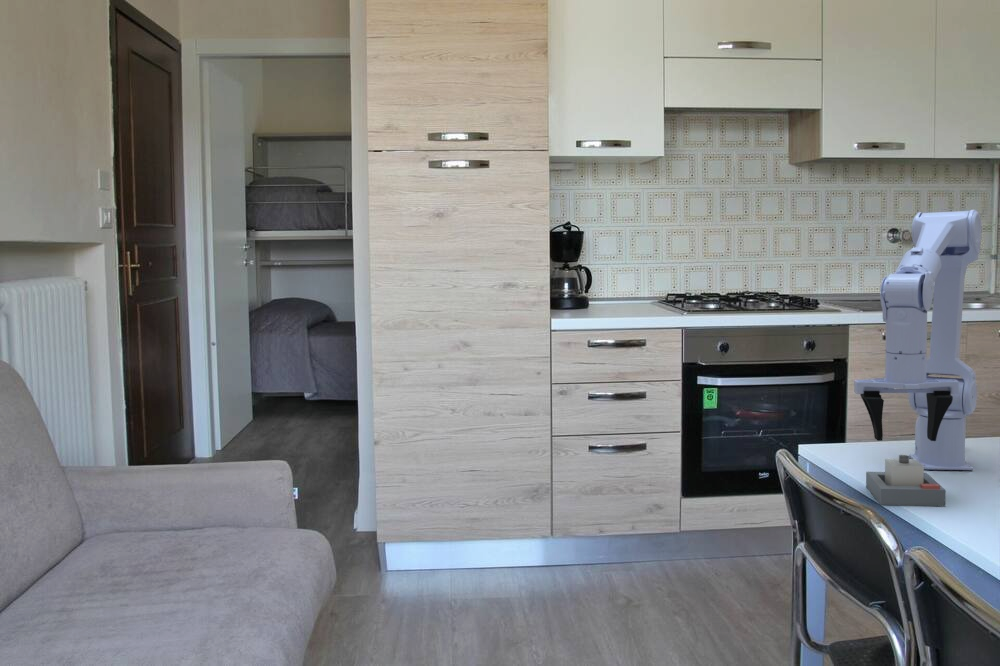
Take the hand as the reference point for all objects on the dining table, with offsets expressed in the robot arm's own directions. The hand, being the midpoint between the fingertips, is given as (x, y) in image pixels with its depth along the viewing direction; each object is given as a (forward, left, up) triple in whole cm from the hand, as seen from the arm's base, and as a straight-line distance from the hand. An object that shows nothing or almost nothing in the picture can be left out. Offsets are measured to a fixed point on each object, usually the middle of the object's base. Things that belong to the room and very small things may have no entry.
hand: (904, 439), depth 134 cm
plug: (0, 0, -9) cm, 9 cm away
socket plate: (0, 0, -9) cm, 9 cm away
